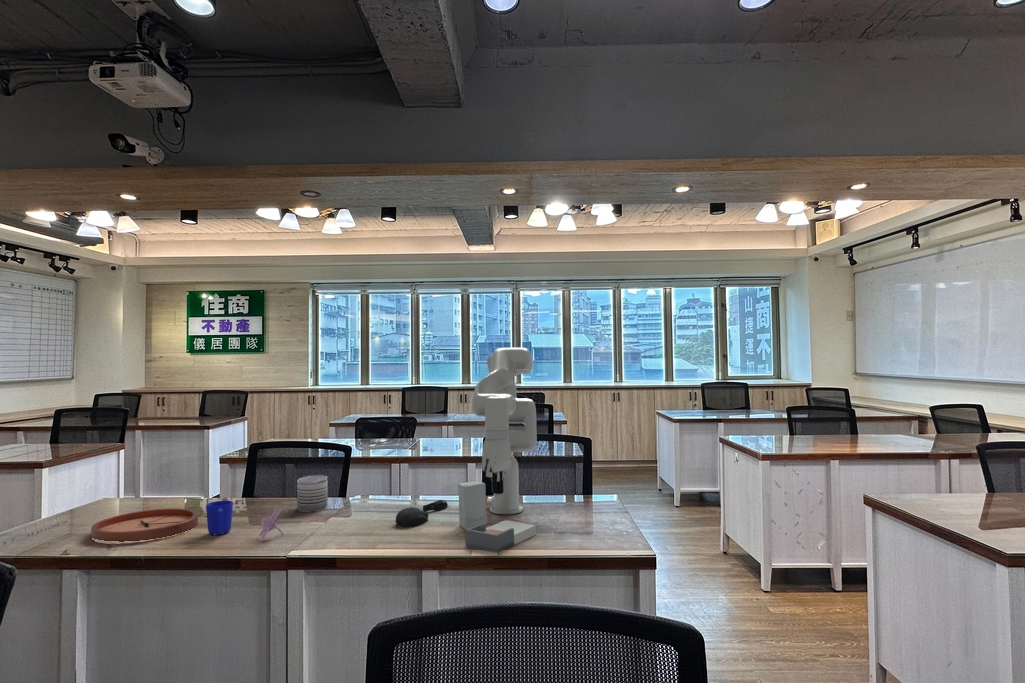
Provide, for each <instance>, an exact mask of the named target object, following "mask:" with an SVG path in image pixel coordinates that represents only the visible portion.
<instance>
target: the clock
mask: <svg viewBox="0 0 1025 683" xmlns="http://www.w3.org/2000/svg"><path fill="white" fill-rule="evenodd" d="M198 525H199V513H198V511H196V510H193V509H190V508H158V509H156V508H155V509H147V510H138V511H135V512H133V511H132V512H128V513H124V514H123V513H122V514H119V515H115V516H110V517H108V518H105V519H102V520H100V521H97V522H96V523H94V524H93V525H92V526H91V529H90V532H91V533H90V537H92V538H94V539H98V540H104V541H119V542H124V541H140V540H149V539H156V538H162V537H167V536H172V535H175V534H179V533H182V532H185V531H188V530H190V531H192V530H193V529H192V528H194V527H195V528H197V527H198ZM196 526H197V527H196ZM195 528H194V529H195ZM191 529H192V530H191ZM188 532H189V531H188Z"/></svg>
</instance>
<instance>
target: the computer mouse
mask: <svg viewBox="0 0 1025 683" xmlns="http://www.w3.org/2000/svg"><path fill="white" fill-rule="evenodd" d="M448 506H449V504H448V502H447V501H446V500H443V499H440V500H436V501H433V502H431V503H428V504H425V505H422V509H420V508H419V507H413V506H411V507H406V508H403V509H401V510H400V511H398V512H397V514H396V516H395V524H396V526H397V527H398V528H412V527H417V526H421V525H423V524H425V523H427V522H429V513H428V512H430V511H439V509H441V510H445V509H444V508H446V507H447V508H448ZM447 508H446V509H447ZM423 510H424V511H423ZM425 511H426V512H425Z"/></svg>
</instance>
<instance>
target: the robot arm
mask: <svg viewBox="0 0 1025 683" xmlns="http://www.w3.org/2000/svg"><path fill="white" fill-rule="evenodd" d="M486 366H487V369H488V374H487V375H485V376H484V377H482V378H481V379H480V381H479V382H477V383H476V385H475V388H474V391H473V398H472V411H473V413H474V415H476V416H477V417H481V418H482V417H483V418H484V429H485V430H484V433H485V436H484V437H485V440H484V441H483V446H482V456H481V470H482V471H483V472H484V473H485V477H486V478H490V481H491V482H492V483H491V484H492V488H491V489H492V494H493V496H488V497H487V499H486V504H491V506H490V507H489V512H490V513H492V514H496V515H515V514H518V513H519V514H520V513H521V512H523V510H524V507H523V506H522V505H521V504H520V503H519V502H520V498H519V497H520V494H519V493H520V491H519V463H518V460H517V459H516V458H515V456H514V455H513V454H512V453H530V452H534V451H535V450H536V449H537V442H538V441H537V440H538V437H537V433H538V432H537V409H536V403H535V402H534V401H533V399H530V398H522V397H521V398H518V396H517V385H516V383H515V381H514V375H528V374H531V372H532V369H533V357H532V354H531V352H530V350H529V349H527V348H526V347H501V348H497V349H495V350H494V351H493V352H492V353H491V354H489V355H488V357H487V359H486ZM510 424H523V425H524V426H510Z"/></svg>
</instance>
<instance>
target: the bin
mask: <svg viewBox="0 0 1025 683" xmlns="http://www.w3.org/2000/svg"><path fill="white" fill-rule="evenodd" d="M486 526H487V522H486V523H481V524H479V525H476V526H474V527H471V528H468V529H464V530H465V532H464V534H465V547H468V548H473V549H477V548H478V550H482V551H486V552H487V551H488V552H493V553H497V554H498V553H499V552H502V551H503V550H507V549H508V548H511V547H513V546H514V528H510V529H508V530H505V531H503V532H501V533H498V534H491V533H486V532H484V531H486V528H487V527H486ZM512 545H513V546H512Z"/></svg>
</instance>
